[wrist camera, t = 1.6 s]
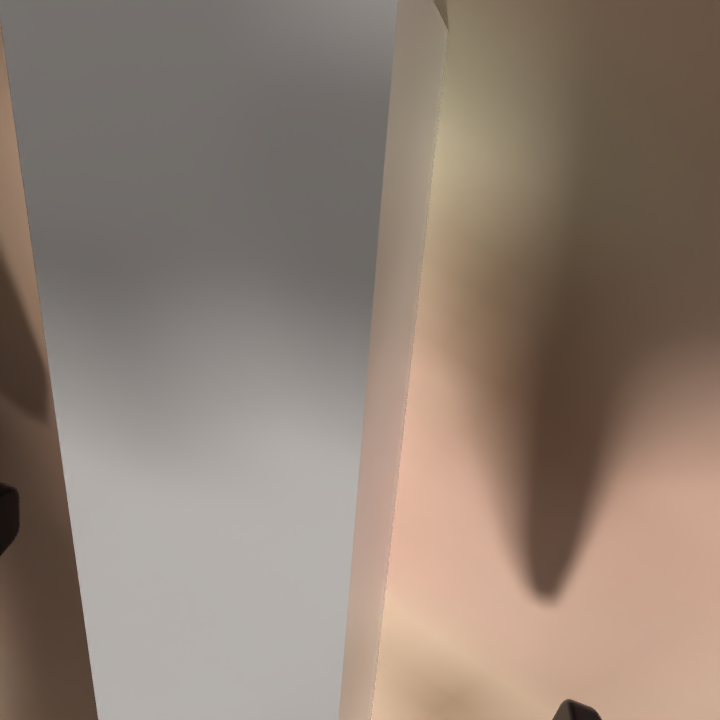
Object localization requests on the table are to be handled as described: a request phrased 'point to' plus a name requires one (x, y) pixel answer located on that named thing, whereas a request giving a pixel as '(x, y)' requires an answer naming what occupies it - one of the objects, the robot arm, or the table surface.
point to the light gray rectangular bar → (229, 330)
